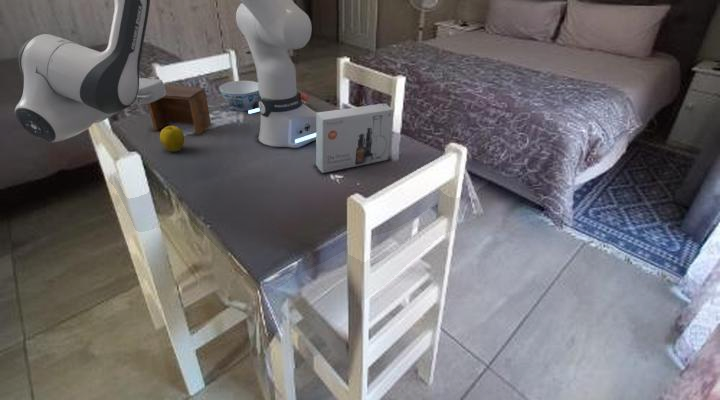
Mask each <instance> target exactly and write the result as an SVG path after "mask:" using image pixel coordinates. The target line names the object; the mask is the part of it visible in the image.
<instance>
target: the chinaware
mask: <svg viewBox="0 0 720 400" xmlns="http://www.w3.org/2000/svg"><path fill="white" fill-rule="evenodd" d="M218 90H219V92H220V94H221V96H222V98H223V100H224V101H225V102H226V103H227V104H229V105H230V106H232V107H233V109H234V110H236V111H240V112H246V111H249V110H253V108H254V105H256V104H257V102H258V94H259V87H258V81H253V80H235V81H233V80H232V81H227V82H225V83H223V84H220V85H219V87H218Z"/></svg>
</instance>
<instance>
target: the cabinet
mask: <svg viewBox="0 0 720 400" xmlns="http://www.w3.org/2000/svg"><path fill="white" fill-rule="evenodd" d="M164 86H165V90H166V96H165V97H163V98H161V99H159V100H157V101H154V102H152V103H149V104H147V107H148V111H149V115H150V119H151V122H152V127H153V129H154V131H156V132H157V131H159V130H162V129H163V128H165V127H166V125H168V124H169V123H178V124H187V125H193V127H194V132H195V135H196V136H200V134H202V133H203V132H205V130H207V129H208V128H209V127H211V126H212V121H211V116H210V110H209V107H208V106H209V105H208V99H207V94H206V89H205V87H201V86H190V85H178V84H166V83H164Z"/></svg>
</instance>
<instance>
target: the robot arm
mask: <svg viewBox="0 0 720 400" xmlns="http://www.w3.org/2000/svg"><path fill="white" fill-rule="evenodd" d="M239 2H240V4H239V5H238V7H237V8H236V13H235V22H236V25H237V28H238V29H239V31H240V32H241V33H242V35H243V37H244V38H245V40H246V42H247V45H248V47H249V52H250V53H251V56H252V59H253V62H254V65H255V71H256V79H257V83H258V87H259V94H258V101H257V102H258V107H257V108H254V109H253V108H252V109H250V110H247V111H248V115H249V114H254V113H257V112H259V113H260V125H259V133H258V141H259V142H260V143H261V144H263V145H266V146H269V147H274V148H275V147H277V148H285V147H286V148H292V149H293V148H294V149H298V148H301V147H303V146H305V145H307V144H309V143H312V142H314V141H316V113H317V112H316V111H315V110H313V109H312V108H310V107H309V106H308V105H307V104H306V105H304V104H303V103H302V101H301V100H303V101H307V102H308V101H309V99H310V97H309V95H308V94H305V93H301V92H299V91H298V90H297V88H298V87H297V70H296V65H295V64H294V62H293V61H292V59H291V58H290V57H289V55H288V52H287V50H300V49H302V48H304V47H305V46H306V45H307V44H308V43H309V41H310V39H311V37H312V31H313V27H312V26H313V25H312V20H311V19H310V17H309V15H308V14H307V13H306V12H305V11H304V10H302V9H301V8H300V7H299V6H298V5H297V4H296V3H295V2H294V1H293V0H239ZM113 4H114V10H113V16H112V21H111V27H110V32H109V37H108V43H107V47H106V49H104V50H103V51H98V50H96V49H92V48H89V47H87V46H84V45H81V44H79V43H77V42H74V41H71V40H68V39H65V38H63V37H60V36H57V35H54V34H51V33H46V32H44V33H43V32H42V33H39V34H36V35H33V36H31V37H30V38H28V40H26V42H24V43H23V44H22V46H21V47H20V49H19V52H18V58H17V60H18V61H17V63H18V67H19V70H20V73H21V76H22V80H23V90H22V96H21V98H20V100H19V102H18V103H17V104H16V106H15V109H14V117H15V119H16V122H17V123H18V124H19V126H20V127H21V128H22V129H23V130H24V131H25V132H26V133H28V134H29V135H30V136H32V137H34V138H36V139H38V140H41V141H44V142H47V143H57V142H63V141H67V140H68V139H69V140H70V139H71V138H73V137H76V136H77V135H80V134H81V133H83V132H86V131H87V130H89V129H90V128H91V127H92V126H93V125H94V124H99V123H101V122H104V121H105V120H107V119H109V118H111V117H113V116H115V115H116V114H118V113H120V112H121V111H124V110H125V109H127V108H129V107H131V105H137V106H138V105H140V106H142V105H143V106H144V105H148V104H149V103H152V102H154V101H157V100H159V99H161V98H163V97H165V96H166V90H165V86H164V84H165V83H164V82H163V80H162V79H160V77H159V76H158V75H150V76H149V77H148V78H146V77H140V65H141V60H142V59H141V58H142V53H143V46H144V42H145V37H146V30H147V24H148V19H149V11H150V5H151V0H113Z"/></svg>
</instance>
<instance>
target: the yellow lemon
mask: <svg viewBox="0 0 720 400" xmlns="http://www.w3.org/2000/svg"><path fill="white" fill-rule="evenodd" d="M159 140H160V143H161V144H162V145H163V147H164V149H165V150H166V151H168V152H172V153H173V152H177V151H180V150H181V149H182V147H183V146H184V143H185V134H184V131H183V130H182V129H181V128H180V127H178V126H177V125H168V126H164V127H163V128H161V131H160V133H159Z"/></svg>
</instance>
